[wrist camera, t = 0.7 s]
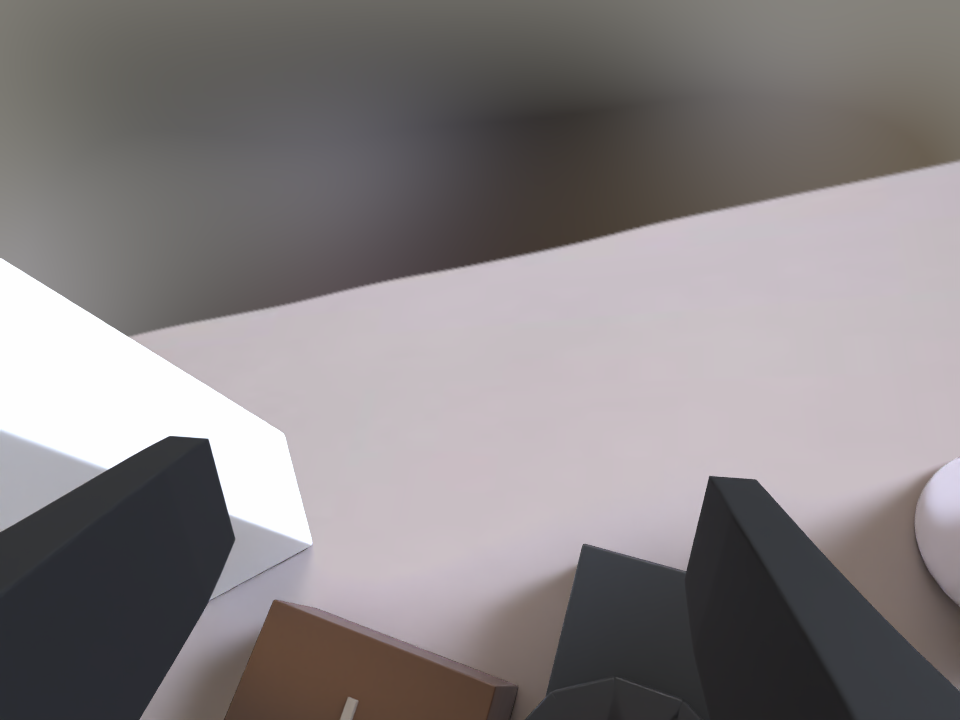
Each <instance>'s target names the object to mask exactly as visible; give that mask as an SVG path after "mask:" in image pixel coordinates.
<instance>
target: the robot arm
mask: <svg viewBox="0 0 960 720" xmlns="http://www.w3.org/2000/svg"><path fill="white" fill-rule="evenodd" d="M234 542H235V536H234V532H233V528H232V524H231V521H230V517H229V513H228V509H227V506H226V502H225V498H224V494H223V491H222V487H221V483H220V479H219V476H218V472H217V468H216V464H215V461H214V457H213V453H212V449H211V446H210V442H209V439H208V438H194V437H181V436H168V437H166V438H164V439H162V440H160V441H158V442H156V443H154V444H152V445H151V446H149V447H147V448H145V449H143V450H141V451H140V452H138V453H136V454H134V455H132V456H131V457H129V458H127V459H125V460H124V461H122V462H120V463H118V464H117V465H115V466H113V467H112V468H110V469H108V470H106V471H105V472H103V473H101V474H100V475H98V476H96V477H94V478H93V479H91V480H89V481H88V482H86V483H84V484H83V485H81V486H79V487H77V488H76V489H74V490H72V491H71V492H69V493H67V494H65V495H64V496H62V497H60V498H59V499H57V500H55V501H53V502H52V503H50V504H48V505H47V506H45V507H43V508H41V509H40V510H38V511H36V512H35V513H33V514H31V515H29V516H28V517H26V518H24V519H23V520H21V521H19V522H17V523H16V524H14V525H12V526H10V527H9V528H7V529H5V530H3V531H1V532H0V720H139V719H140V718H141V716H142V714H143V712H144V711H145V709H146V707H147V706H148V704H149V702H150V701H151V699H152V697H153V696H154V694H155V692H156V691H157V689H158V687H159V686H160V684H161V682H162V681H163V679H164V677H165V676H166V674H167V672H168V671H169V669H170V667H171V666H172V664H173V662H174V661H175V659H176V657H177V656H178V654H179V652H180V650H181V649H182V647H183V645H184V644H185V642H186V640H187V639H188V637H189V635H190V633H191V632H192V630H193V628H194V627H195V625H196V623H197V621H198V620H199V618H200V616H201V614H202V613H203V611H204V609H205V607H206V606H207V604H208V602H209V600H210V598H211V595H212V593H213V591H214V589H215V587H216V584H217V582H218V580H219V578H220V576H221V573H222V571H223V568H224V566H225V564H226V561H227V559H228V556H229V554H230V551H231V549H232V547H233V544H234ZM684 582H685V590H686V599H687V607H688V615H689V623H690V630H691V637H692V644H693V652H694V656H695V660H696V665H697V669H698V673H699V677H700V681H701V685H702V689H703V693H704V697H705V701H706V706H707V710H708V714H709V718H710V720H960V691H959V690H958V689H957V688H955V687H954V686H953V685H952V684H951V683H950V682H949V681H948V680H947V679H946V678H945V677H944V676H943V675H942V674H941V673H940V672H939V671H938V670H937V669H936V668H935V667H933V666H932V665H931V664H930V663H929V662H928V661H927V660H926V659H925V658H924V657H923V656H922V655H921V654H920V653H919V652H918V651H917V650H916V649H915V648H914V647H913V646H912V645H911V644H910V643H909V642H908V641H907V640H906V639H905V638H904V637H903V636H902V635H901V634H900V633H899V632H898V631H897V630H896V629H895V628H894V627H893V626H892V625H891V624H890V623H889V622H888V621H887V620H886V619H885V618H884V617H883V616H882V615H881V614H880V613H879V612H878V611H877V610H876V609H875V608H874V607H873V606H872V605H871V604H870V603H869V602H868V601H867V600H866V599H865V598H864V597H863V596H862V595H861V594H860V593H859V591H858V590H857V589H856V588H855V587H854V586H853V585H852V584H851V583H850V582H849V581H848V580H847V579H846V578H845V577H844V576H843V575H842V574H841V572H840V571H839V570H838V569H837V568H836V567H835V566H834V565H833V564H832V563H831V562H830V561H829V560H828V558H827V557H826V556H825V555H824V554H823V553H822V552H821V551H820V550H819V549H818V548H817V546H816V545H815V544H814V543H813V542H812V541H811V540H810V539H809V538H808V537H807V535H806V534H805V533H804V532H803V531H802V530H801V529H800V528H799V527H798V525H797V524H796V523H795V522H794V521H793V520H792V519H791V518H790V517H789V515H788V514H787V513H786V512H785V511H784V510H783V509H782V508H781V507H780V505H779V504H778V503H777V502H776V501H775V500H774V499H773V498H772V497H771V495H770V494H769V493H768V492H767V491H766V490H765V489H764V488H763V487H762V486H761V485H760V483H759V482H758V481H757V480H755V479H742V478H728V477H715V476H709V480H708V484H707V488H706V492H705V496H704V501H703V505H702V509H701V513H700V517H699V521H698V526H697V530H696V534H695V538H694V542H693V546H692V550H691V555H690V559H689V563H688V567H687V571H686V575H685V579H684Z"/></svg>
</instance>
